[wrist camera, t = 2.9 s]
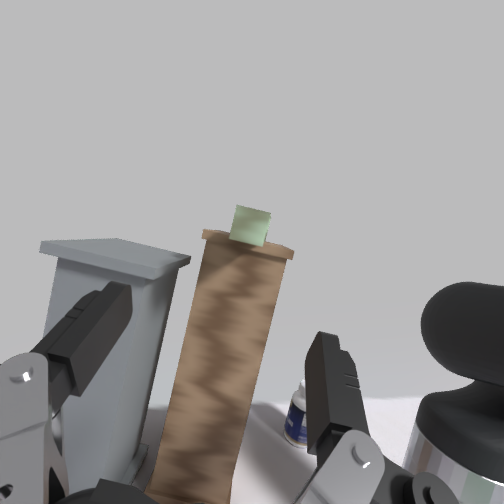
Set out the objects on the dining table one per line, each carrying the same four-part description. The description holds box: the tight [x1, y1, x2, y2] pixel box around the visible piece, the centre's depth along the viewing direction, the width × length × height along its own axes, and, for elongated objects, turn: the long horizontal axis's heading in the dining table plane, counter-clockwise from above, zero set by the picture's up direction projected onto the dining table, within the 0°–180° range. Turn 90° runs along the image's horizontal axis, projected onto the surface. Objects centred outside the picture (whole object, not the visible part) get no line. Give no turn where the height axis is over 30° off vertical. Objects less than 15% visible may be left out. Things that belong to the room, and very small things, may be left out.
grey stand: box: [39, 238, 191, 495], centre depth 31 cm, size 10×13×28 cm
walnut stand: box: [144, 229, 294, 504], centre depth 38 cm, size 10×14×32 cm
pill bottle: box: [284, 379, 307, 448], centre depth 49 cm, size 5×5×10 cm
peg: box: [229, 205, 271, 247], centre depth 32 cm, size 4×22×4 cm, turn 179°
